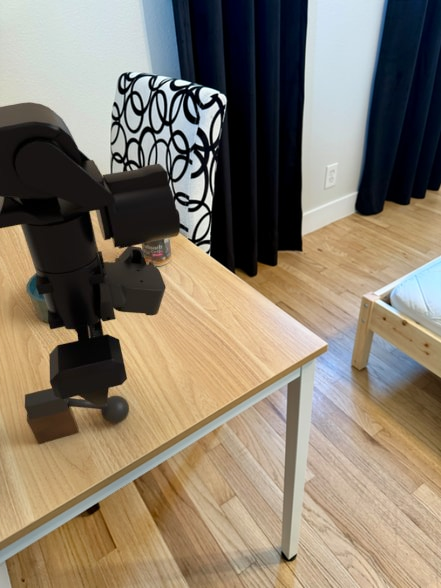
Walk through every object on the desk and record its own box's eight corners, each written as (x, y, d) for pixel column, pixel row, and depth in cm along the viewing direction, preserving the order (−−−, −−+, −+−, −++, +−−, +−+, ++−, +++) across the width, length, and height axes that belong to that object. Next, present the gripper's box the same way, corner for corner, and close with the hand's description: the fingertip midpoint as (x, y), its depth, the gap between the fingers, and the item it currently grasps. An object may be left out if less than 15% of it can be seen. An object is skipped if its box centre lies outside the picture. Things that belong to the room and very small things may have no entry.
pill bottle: (140, 266, 86) (133, 222, 80) (148, 251, 90) (141, 208, 84) (168, 268, 85) (163, 223, 79) (174, 252, 90) (170, 209, 83)
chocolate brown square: (38, 444, 55) (26, 420, 51) (38, 436, 55) (26, 412, 52) (78, 432, 56) (69, 408, 53) (78, 425, 57) (68, 401, 54)
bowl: (34, 331, 71) (25, 308, 68) (35, 290, 80) (27, 268, 77) (107, 315, 74) (101, 292, 71) (99, 277, 83) (94, 255, 80)
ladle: (128, 404, 59) (120, 366, 55) (132, 425, 57) (125, 387, 52) (40, 427, 56) (24, 389, 52) (40, 450, 54) (24, 412, 49)
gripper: (176, 298, 34) (187, 419, 43) (137, 201, 48) (151, 308, 58) (27, 328, 31) (74, 451, 41) (32, 216, 45) (65, 326, 55)
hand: (97, 372), depth 49 cm, fingers open, 9 cm apart
